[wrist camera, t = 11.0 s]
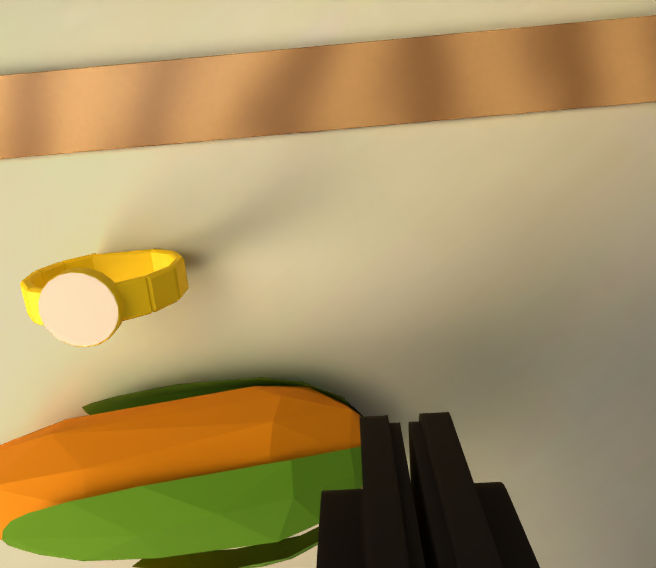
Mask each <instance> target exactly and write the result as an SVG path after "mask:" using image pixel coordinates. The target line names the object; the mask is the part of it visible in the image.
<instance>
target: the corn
mask: <svg viewBox="0 0 656 568" xmlns="http://www.w3.org/2000/svg"><path fill="white" fill-rule="evenodd" d="M82 408H83V409H84V411H85V412H87V413H88V414H89V415H88V416H82V417H76V418H71V419H66V420H63V421H61V422H58V423H56V424H53V425H51V426H48V427H45V428H43V429H40V430H38V431H35V432H33V433H30V434H28V435H25V436H22V437H20V438H17V439H15V440H12V441H10V442H7V443H5V444H2V445H0V540H3V541H4V542H5V543H6V544H7V545H10V546H12V547H15V548H18V549H21V550H25V551H28V552H32V553H36V554H39V555H46V556H53V557H59V558H66V559H73V560H80V561H98V560H124V559H141V560H140V561H139V562H137V563H136V564H135V565H133V566H132V567H138V568H254V567H262V566H267V565H270V564H274V563H278V562H281V561H285V560H288V559H292V558H294V557H296V556H298V555H300V554H302V553H303V552H305V551H307V550H309V549H311V548H313V547H314V546H316V545H318V535H319V527H317V528H315V529H313V530H311V531H309V532H307V533H305V534H303V535H301V536H297V537H292V538H288V537H290V536H292V535H294V534H297V533H299V532H301V531H303V530H306V529H308V528H310V527H312V526H315V525H317V524H319V519H320V502H321V492H322V491H323V490H344V489H361V488H362V487H363V482H362V461H361V440H360V420H359V417H364V416H362V415H361V414H360V413H359V412H358V411H357V410H356V409H355V408H354V407H353V406H352V405H350V404H349V403H348V402H347V401H346V400H345V399H344V398H343V397H341V396H338V395H336V394H333V393H330V392H328V391H325V390H322V389H320V388H317V387H315V386H312V385H309V384H307V383H304V382H299V381H290V380H280V379H271V378H262V377H260V378H248V379H236V380H224V381H212V382H200V383H188V384H177V385H172V386H167V387H161V388H156V389H151V390H146V391H141V392H136V393H131V394H126V395H120V396H116V397H113V398H109V399H105V400H102V401H98V402H94V403H91V404H88V405H86V406H84V407H82ZM285 538H287V539H285ZM251 545H253V546H251ZM244 546H248V547H244ZM237 547H243V548H238V549H229V548H237ZM222 549H229V550H222Z"/></svg>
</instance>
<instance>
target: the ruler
mask: <svg viewBox="0 0 656 568" xmlns="http://www.w3.org/2000/svg"><path fill="white" fill-rule="evenodd" d="M653 101H656V15H653V16H642V17H631V18H620V19H609V20H598V21H587V22H576V23H565V24H555V25H544V26H533V27H522V28H511V29H500V30H489V31H478V32H467V33H457V34H446V35H435V36H424V37H413V38H402V39H391V40H380V41H369V42H358V43H348V44H337V45H326V46H315V47H304V48H293V49H282V50H271V51H260V52H249V53H239V54H228V55H217V56H206V57H195V58H184V59H173V60H162V61H151V62H141V63H130V64H119V65H108V66H97V67H86V68H75V69H64V70H53V71H42V72H32V73H21V74H10V75H0V159H4V158H16V157H27V156H38V155H50V154H61V153H73V152H84V151H95V150H107V149H118V148H130V147H141V146H152V145H164V144H175V143H186V142H198V141H209V140H221V139H232V138H243V137H255V136H266V135H277V134H289V133H300V132H312V131H323V130H334V129H346V128H357V127H368V126H380V125H391V124H403V123H414V122H425V121H437V120H448V119H459V118H471V117H482V116H494V115H505V114H516V113H528V112H539V111H551V110H562V109H573V108H585V107H596V106H607V105H619V104H630V103H642V102H653Z"/></svg>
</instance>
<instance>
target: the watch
mask: <svg viewBox="0 0 656 568" xmlns="http://www.w3.org/2000/svg"><path fill="white" fill-rule="evenodd" d="M20 285H21V289H22V293H23V297H24V301H25V305H26V309H27V313H28V315H29V317H30V318H31V319H32V321H33V322H34V323H36V324H38V325H44V326H45V327H46V328H47V329H48V330H49V332H50V333H51V334H52V335H53V336H55V337H56V338H58V339H59V340H61V341H62V342H64V343H67V344H70V345H73V346H79V347H90V346H94V345H98V344H101V343H103V342H104V341H106V340H107V339H109V338H110V337H111V336H112V335H113V334H114V332H115V331H116V330H117V329H118V328H119V326H120V325H121V323H122V321H125V320H129V319H132V318H136V317H140V316H143V315H147V314H151V313H152V312H156V311H158V310H160V309H162V308H164V307H166V306H168V305H171V304H173V303H175V302H177V301H178V300H179V299H180V298H181V297H182V296H183V294H184V293H185V292H186V290H187V289H188V281H187V275H186V269H185V262H184V258H183V257H182V256H180V255H179V254H178V253H177V252H175V251H172V250H164V249H156V248H155V249H147V250H137V251H126V252H116V253H105V254H96V253H94V254H92V255H86V256H82V257H77V258H73V259H69V260H65V261H62V262H57V263H55V264H52V265H49V266H47V267H44V268H41V269H38V270H36V271H35V272H32V273H31V274H30V275H29V276H27V277H26V278H25V279H23V280H22V282H21V284H20Z"/></svg>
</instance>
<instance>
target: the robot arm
mask: <svg viewBox="0 0 656 568" xmlns="http://www.w3.org/2000/svg"><path fill="white" fill-rule="evenodd" d="M359 420H360V440H361V461H362V482H363V489H344V490H323V491H322V492H321V502H320V519H319V535H318V552H317V568H540V567H539V564H538V562H537V560H536V557H535V555H534V553H533V550H532V548H531V546H530V543H529V541H528V539H527V536H526V534H525V532H524V529H523V527H522V525H521V522H520V520H519V518H518V515H517V513H516V510H515V508H514V506H513V503H512V501H511V499H510V496H509V494H508V492H507V489H506V488H505V486H504V484H503V483H501V482H490V483H474V482H473V479H472V476H471V473H470V470H469V468H468V465H467V462H466V459H465V456H464V453H463V450H462V447H461V445H460V442H459V439H458V436H457V433H456V430H455V427H454V424H453V421H452V419H451V416H450V413H449V412H441V413H422V414H419V422H409V451H410V476H411V482H410V476H409V471H408V465H407V459H406V454H405V448H404V442H403V437H402V431H401V426H400V423H389V419H388V415H385V416H367V417H359Z"/></svg>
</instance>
